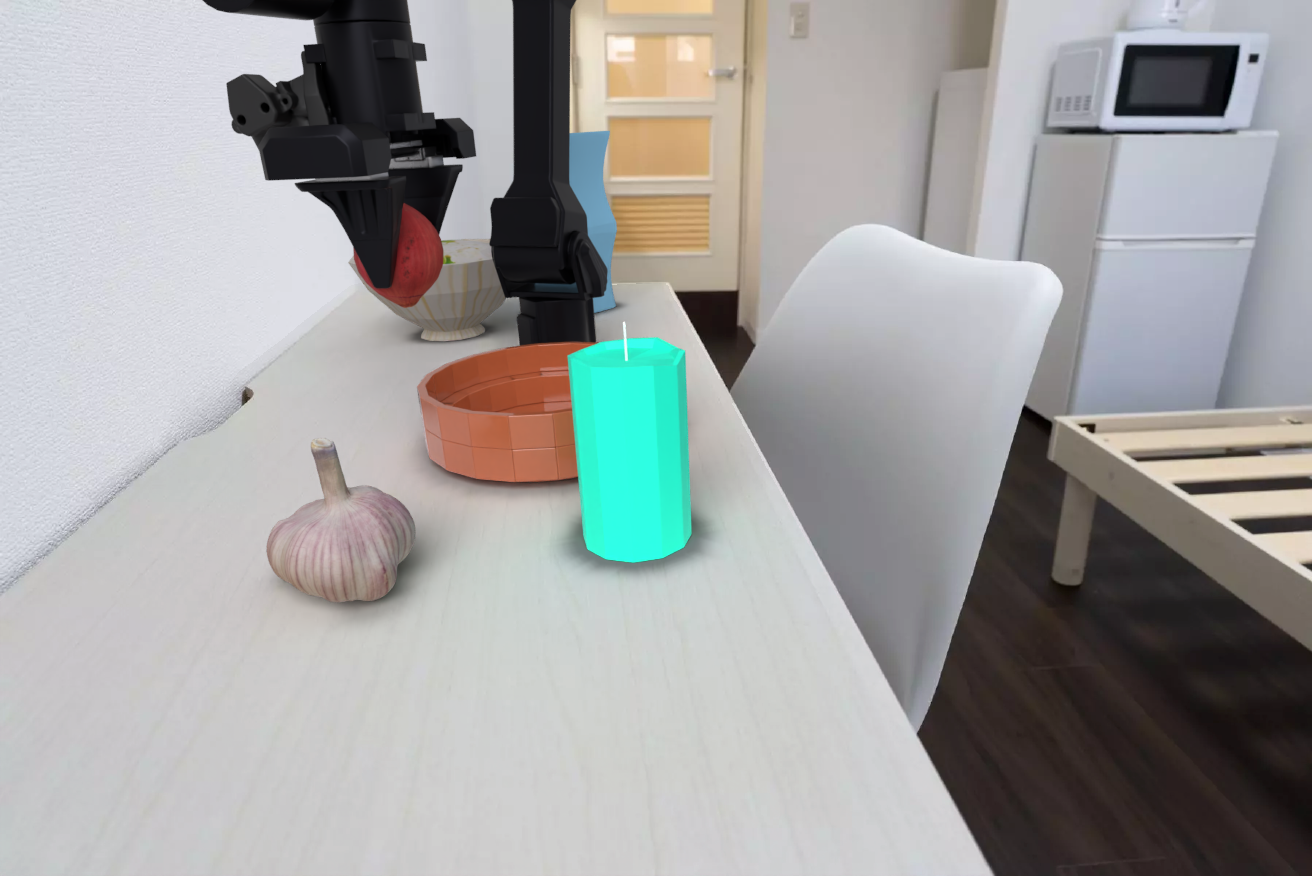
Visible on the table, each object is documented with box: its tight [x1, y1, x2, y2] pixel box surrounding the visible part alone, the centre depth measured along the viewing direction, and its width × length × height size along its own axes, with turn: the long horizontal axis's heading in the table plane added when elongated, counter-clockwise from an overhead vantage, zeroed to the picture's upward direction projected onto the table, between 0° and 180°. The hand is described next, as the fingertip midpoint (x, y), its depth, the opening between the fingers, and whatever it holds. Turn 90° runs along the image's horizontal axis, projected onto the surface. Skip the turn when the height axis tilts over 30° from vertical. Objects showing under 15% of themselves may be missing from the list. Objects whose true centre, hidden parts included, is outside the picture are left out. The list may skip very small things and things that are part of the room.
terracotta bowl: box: [416, 341, 598, 483], centre depth 59 cm, size 17×17×5 cm
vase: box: [569, 130, 618, 314], centre depth 97 cm, size 8×8×20 cm
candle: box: [567, 321, 693, 563], centre depth 44 cm, size 6×6×12 cm
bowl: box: [347, 238, 507, 342], centre depth 90 cm, size 19×19×10 cm
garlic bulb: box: [266, 437, 417, 603], centre depth 41 cm, size 8×7×8 cm
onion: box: [352, 203, 444, 308], centre depth 56 cm, size 6×6×8 cm
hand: (403, 278), depth 57 cm, fingers closed on onion, 6 cm apart
